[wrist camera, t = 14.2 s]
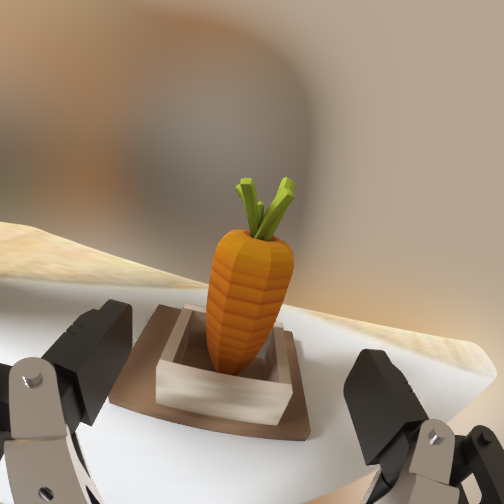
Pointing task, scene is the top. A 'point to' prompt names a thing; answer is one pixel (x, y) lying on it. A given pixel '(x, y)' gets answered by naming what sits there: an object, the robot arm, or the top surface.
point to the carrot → (248, 282)
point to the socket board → (212, 380)
